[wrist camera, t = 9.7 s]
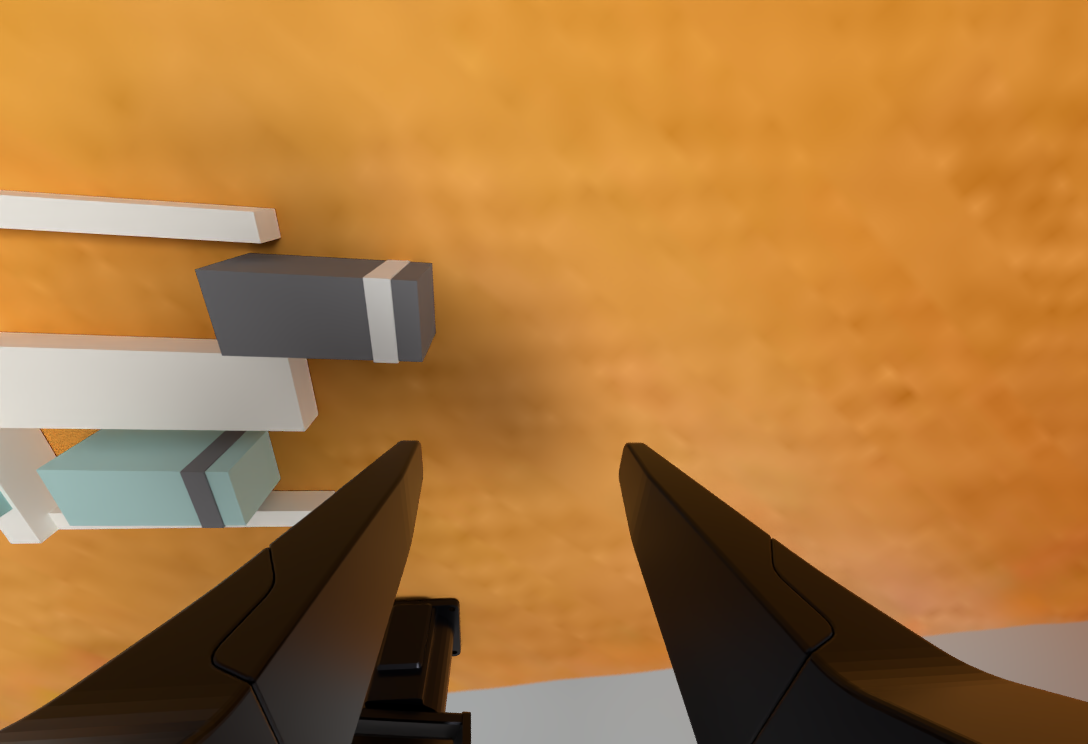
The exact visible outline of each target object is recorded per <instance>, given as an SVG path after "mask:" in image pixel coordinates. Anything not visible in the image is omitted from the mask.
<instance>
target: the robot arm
mask: <svg viewBox="0 0 1088 744" xmlns="http://www.w3.org/2000/svg"><path fill="white" fill-rule="evenodd" d="M422 480H423V464H422V451H421V444H420V442H419V441H400V442H398V443H397V444H396V445H394V446H393V447H392V448H391V449H389V450H388V451H387V452H386V453H384V454H383V455H382V456H381V457H379V458H378V459H377V460H376V461H374V462H373V463H372V464H371V465H369V466H368V467H367V468H365V469H364V470H363V471H362V472H360V473H359V474H358V475H357V476H355V477H354V478H353V479H352V480H350V481H349V482H348V483H347V484H345V485H344V486H343V487H342V488H340V489H339V490H338V491H337V492H335V493H334V494H333V495H332V496H330V497H329V498H328V499H327V500H325V501H324V502H323V503H321V504H320V505H319V506H318V507H316V508H315V509H314V510H313V511H311V512H310V513H309V514H308V515H306V516H305V517H304V518H303V519H301V520H300V521H299V522H298V523H296V524H295V525H294V526H293V527H291V528H290V529H289V530H288V531H286V532H285V533H284V534H282V535H281V536H280V537H279V538H277V539H276V540H275V541H274V542H272V543H271V544H270V546H269V548H270V549H269V548H265V549H263V550H262V551H261V552H260V553H258V554H257V555H256V556H255V557H253V558H252V559H251V560H250V561H248V562H247V563H246V564H244V565H243V566H242V567H241V568H239V569H238V570H237V571H235V572H234V573H233V574H231V575H230V576H229V577H227V578H226V579H225V580H224V581H222V582H221V583H220V584H218V585H217V586H216V587H214V588H213V589H212V590H210V591H209V592H207V593H206V594H205V595H203V596H202V597H200V598H199V599H198V600H196V601H195V602H193V603H192V604H191V605H189V606H188V607H186V608H185V609H184V610H182V611H181V612H179V613H178V614H177V615H175V616H174V617H172V618H171V619H169V620H168V621H167V622H165V623H164V624H162V625H161V626H159V627H158V628H156V629H155V630H154V631H152V632H151V633H149V634H148V635H146V636H145V637H143V638H142V639H141V640H139V641H138V642H136V643H135V644H133V645H132V646H130V647H129V648H128V649H126V650H125V651H123V652H122V653H120V654H119V655H117V656H116V657H115V658H113V659H112V660H110V661H109V662H107V663H106V664H104V665H103V666H101V667H100V668H99V669H97V670H96V671H94V672H93V673H91V674H90V675H88V676H87V677H86V678H84V679H83V680H81V681H80V682H78V683H77V684H75V685H74V686H73V687H71V688H70V689H68V690H67V691H65V692H64V693H62V694H61V695H59V696H58V697H56V698H55V699H53V700H52V701H50V702H49V703H47V704H46V705H44V706H43V707H41V708H39V709H37V710H36V711H34V712H32V713H31V714H29V715H27V716H26V717H24V718H22V719H20V720H19V721H17V722H15V723H13V724H11V725H9V726H7V727H5V728H3V729H2V730H0V744H471V713H470V712H462V713H447V712H445V709H446V701H447V692H448V684H449V675H450V666H451V658H452V656H457V655H459V654H460V652H461V632H460V604H459V602H458V601H456V600H430V601H400V602H394V600H395V597H396V594H397V590H398V587H399V584H400V580H401V577H402V574H403V571H404V567H405V564H406V561H407V557H408V554H409V550H410V546H411V542H412V537H413V532H414V526H415V520H416V515H417V509H418V503H419V497H420V492H421V486H422ZM619 482H620V487H621V492H622V496H623V501H624V506H625V511H626V516H627V521H628V526H629V531H630V535H631V540H632V543H633V547H634V550H635V553H636V556H637V559H638V562H639V565H640V569H641V572H642V575H643V578H644V581H645V584H646V587H647V590H648V593H649V596H650V599H651V602H652V605H653V609H654V612H655V615H656V618H657V621H658V624H659V627H660V630H661V633H662V636H663V639H664V642H665V645H666V649H667V652H668V655H669V658H670V661H671V664H672V667H673V670H674V673H675V676H676V679H677V682H678V685H679V689H680V691H681V695H682V697H683V700H684V704H685V707H686V710H687V713H688V716H689V719H690V722H691V725H692V728H693V732H694V735H695V738H696V741H697V744H1088V702H1085V701H1082V700H1078V699H1074V698H1071V697H1067V696H1063V695H1060V694H1055V693H1052V692H1048V691H1045V690H1041V689H1037V688H1034V687H1030V686H1026V685H1022V684H1019V683H1015V682H1012V681H1008V680H1005V679H1002V678H1000V677H997V676H994V675H991V674H989V673H986V672H984V671H982V670H979V669H977V668H974V667H973V666H970V665H968V664H966V663H964V662H962V661H960V660H958V659H956V658H955V657H953V656H951V655H949V654H948V653H946V652H944V651H942V650H941V649H939V648H938V647H936V646H934V645H933V644H931V643H930V642H928V641H927V640H925V639H924V638H922V637H920V636H919V635H917V634H916V633H914V632H913V631H911V630H910V629H908V628H906V627H905V626H903V625H902V624H900V623H899V622H897V621H896V620H894V619H892V618H891V617H889V616H888V615H886V614H885V613H883V612H882V611H880V610H878V609H877V608H875V607H874V606H872V605H871V604H869V603H868V602H866V601H864V600H863V599H861V598H860V597H858V596H857V595H855V594H854V593H852V592H851V591H849V590H848V589H846V588H844V587H843V586H841V585H840V584H838V583H837V582H835V581H834V580H832V579H831V578H829V577H828V576H826V575H825V574H823V573H822V572H820V571H819V570H817V569H816V568H815V567H813V566H812V565H810V564H809V563H807V562H806V561H805V560H803V559H802V558H800V557H799V556H798V555H796V554H795V553H793V552H792V551H791V550H789V549H788V548H786V547H785V546H784V545H782V544H781V543H780V542H778V541H777V540H776V539H774V538H772V539H771V537H770V535H768V534H767V533H766V532H764V531H763V530H762V529H760V528H759V527H758V526H756V525H755V524H753V523H752V522H751V521H749V520H748V519H747V518H745V517H744V516H743V515H741V514H740V513H738V512H737V511H736V510H734V509H733V508H732V507H730V506H729V505H727V504H726V503H725V502H723V501H722V500H721V499H719V498H718V497H717V496H715V495H714V494H712V493H711V492H710V491H708V490H707V489H706V488H704V487H703V486H701V485H700V484H699V483H697V482H696V481H695V480H693V479H692V478H691V477H689V476H688V475H686V474H685V473H684V472H682V471H681V470H680V469H678V468H677V467H675V466H674V465H673V464H671V463H670V462H669V461H667V460H666V459H665V458H663V457H662V456H660V455H659V454H658V453H656V452H655V451H654V450H652V449H651V448H649V447H648V446H647V445H645V444H644V443H626V444H625V446H624V449H623V453H622V458H621V463H620V468H619Z"/></svg>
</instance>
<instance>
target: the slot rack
mask: <svg viewBox="0 0 1088 744" xmlns="http://www.w3.org/2000/svg"><path fill="white" fill-rule="evenodd" d="M0 228H7V229H24V230H41V231H58V232H75V233H92V234H109V235H126V236H143V237H160V238H177V239H194V240H211V241H228V242H245V243H264V242H268V241H271V240H275V239H278V238H281V236H280V231H279V227H278V222H277V217H276V212H275V209H273V208H258V207H243V206H228V205H214V204H199V203H184V202H170V201H155V200H140V199H125V198H111V197H96V196H81V195H66V194H52V193H37V192H22V191H7V190H0ZM317 416H318V410H317V405H316V400H315V396H314V391H313V386H312V382H311V377H310V372H309V367H308V363H307V358H280V357H247V356H222V354H221V351H220V348H219V344H218V341H217V339H190V338H161V337H132V336H102V335H73V334H44V333H14V332H0V529H1V531H2V532H3V533H4V535H5V536H6V537H7V539H8V540H9V541H10V543H11V544H18V543H42V542H43V541H45V540H46V539H47V538H48V537H50V536H51V535H52V534H53V533H55V532H56V531H57V530H59V529H131V528H202V526H70V525H69V523H68V522H67V520H66V518H65V517H64V515H63V513H62V512H61V510H60V509H59V507H58V505H57V504H56V502H55V500H54V499H53V497H52V495H51V494H50V492H49V491H48V489H47V487H46V486H45V484H44V482H43V481H42V479H41V477H40V476H39V474H38V473H37V471H36V470H37V469H38V468H40V467H41V466H43V465H44V464H46V463H48V462H49V461H51V460H52V459H54V458H56V455H55V454H54V452H53V450H52V449H51V447H50V445H49V444H48V442H47V440H46V439H45V437H44V435H43V433H42V432H41V430H40V428H53V429H141V430H229V431H306V430H307V428H308V427H309V426H310V425H311V423H312V422H313V421H314V419H315V418H316V417H317ZM334 493H335V491H271V493H270V494H269V495H268V497H267V498H266V499H265V501H264V502H263V503H262V505H261V506H260V507H259V509H258V510H257V511H256V513H255V514H254V515H253V517H252V518H251V519H250V521H249V522H248V523H247V525H226V526H225V527H285V526H294V525H295V524H296V523H298V522H299V521H300V520H301V519H303V518H304V517H305V516H306V515H308V514H309V513H310V512H311V511H313V510H314V509H315V508H316V507H318V506H319V505H320V504H321V503H323V502H324V501H325V500H327V499H328V498H329V497H330V496H332V495H333V494H334Z"/></svg>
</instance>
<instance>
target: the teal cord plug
mask: <svg viewBox="0 0 1088 744" xmlns="http://www.w3.org/2000/svg"><path fill="white" fill-rule="evenodd" d="M36 471H37V473H38V474H39V476H40V477H41V479H42V481H43V482H44V484H45V486H46V487H47V489H48V491H49V492H50V494H51V495H52V497H53V499H54V500H55V502H56V504H57V505H58V507H59V509H60V510H61V512H62V513H63V515H64V517H65V518H66V520H67V522H68V523H69V525H70V526H202V528H224V527H225V526H226V525H247V523H248V522H249V521H250V519H251V518H252V517H253V515H254V514H255V513H256V511H257V510H258V509H259V507H260V506H261V505H262V503H263V502H264V501H265V499H266V498H267V497H268V495H269V494H270V493H271V491H272V490H273V489H274V487H275V486H276V484H277V483H278V482H279V480H280V479H281V478H280V474H279V471H278V467H277V463H276V459H275V456H274V452H273V448H272V444H271V441H270V437H269V433H268V431H229V430H141V429H100V430H99V431H97V432H96V433H94V434H92V435H91V436H89V437H88V438H86V439H84V440H83V441H81V442H80V443H78V444H76V445H75V446H73V447H72V448H70V449H68V450H67V451H65V452H64V453H62V454H60V455H59V456H57V457H56V458H54V459H52V460H51V461H49V462H48V463H46V464H44V465H43V466H41V467H40V468H38V469H37V470H36Z"/></svg>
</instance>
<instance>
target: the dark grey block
mask: <svg viewBox="0 0 1088 744" xmlns="http://www.w3.org/2000/svg"><path fill="white" fill-rule="evenodd" d="M195 272H196V275H197V278H198V281H199V284H200V287H201V291H202V294H203V297H204V300H205V303H206V306H207V310H208V313H209V316H210V319H211V322H212V325H213V329H214V332H215V335H216V338H217V341H218V344H219V348H220V351H221V354H222V356H247V357H280V358H312V359H345V360H374V362H376V363H399V361H411V362H423V360H424V358H425V355H426V353H427V351H428V349H429V347H430V344H431V342H432V340H433V338H434V336H435V333H436V329H435V310H434V291H433V271H432V263H420V262H410V261H403V260H387V261H384V260H366V259H349V258H331V257H313V256H295V255H277V254H260V253H248V254H244V255H241V256H238V257H235V258H231V259H228V260H225V261H221V262H218V263H215V264H211V265H208V266H205V267H202V268H198V269H195Z"/></svg>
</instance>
